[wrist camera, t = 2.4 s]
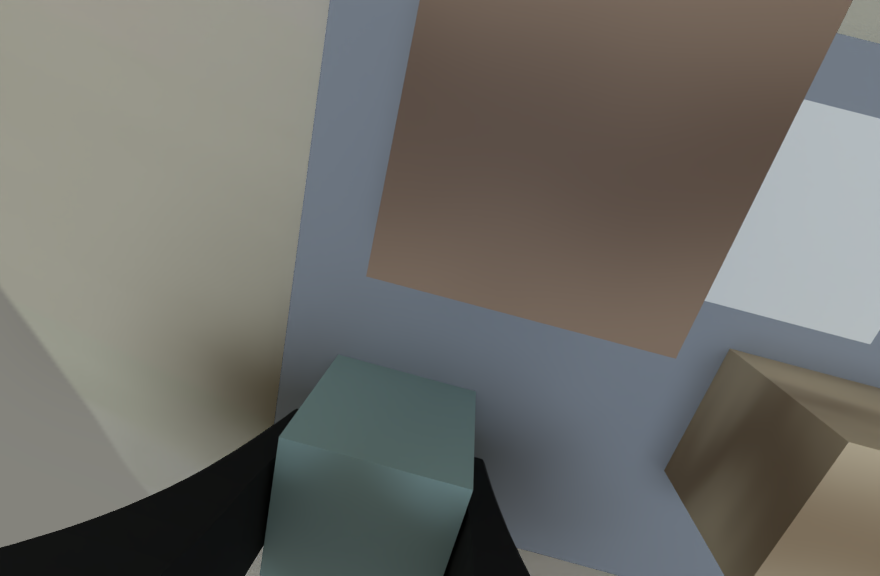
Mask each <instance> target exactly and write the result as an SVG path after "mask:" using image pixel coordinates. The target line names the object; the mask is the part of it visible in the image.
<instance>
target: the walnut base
mask: <svg viewBox="0 0 880 576" xmlns="http://www.w3.org/2000/svg"><path fill="white" fill-rule="evenodd" d="M852 1H853V0H420V1H419V6H418V11H417V17H416V22H415V27H414V32H413V37H412V42H411V47H410V53H409V58H408V63H407V68H406V73H405V78H404V84H403V89H402V94H401V99H400V104H399V109H398V115H397V120H396V125H395V130H394V135H393V140H392V145H391V151H390V156H389V161H388V166H387V171H386V176H385V182H384V187H383V192H382V197H381V202H380V207H379V212H378V218H377V223H376V228H375V233H374V238H373V243H372V249H371V254H370V259H369V264H368V269H367V274H366V277H370V278H374V279H378V280H382V281H385V282H389V283H393V284H397V285H400V286H404V287H408V288H412V289H415V290H419V291H423V292H427V293H430V294H434V295H438V296H442V297H445V298H449V299H453V300H457V301H460V302H464V303H468V304H472V305H475V306H479V307H483V308H487V309H491V310H494V311H498V312H502V313H506V314H509V315H513V316H517V317H521V318H524V319H528V320H532V321H536V322H539V323H543V324H547V325H551V326H554V327H558V328H562V329H566V330H569V331H573V332H577V333H581V334H585V335H588V336H592V337H596V338H600V339H603V340H607V341H611V342H615V343H618V344H622V345H626V346H630V347H633V348H637V349H641V350H645V351H648V352H652V353H656V354H660V355H663V356H667V357H671V358H675V359H676V357H677V355H678V353H679V351H680V349H681V347H682V345H683V343H684V341H685V339H686V337H687V335H688V333H689V331H690V329H691V327H692V325H693V323H694V321H695V319H696V317H697V315H698V313H699V311H700V309H701V307H702V305H703V303H704V301H705V299H706V297H707V295H708V293H709V290H710V288H711V286H712V284H713V282H714V280H715V278H716V276H717V274H718V272H719V270H720V268H721V266H722V264H723V262H724V260H725V258H726V256H727V254H728V252H729V250H730V248H731V246H732V244H733V242H734V240H735V238H736V236H737V234H738V232H739V230H740V228H741V226H742V224H743V222H744V220H745V218H746V216H747V214H748V211H749V209H750V207H751V205H752V203H753V201H754V199H755V197H756V195H757V193H758V191H759V189H760V187H761V185H762V183H763V181H764V179H765V177H766V175H767V173H768V171H769V169H770V167H771V165H772V163H773V161H774V159H775V157H776V155H777V153H778V151H779V149H780V147H781V145H782V143H783V141H784V139H785V137H786V135H787V133H788V130H789V128H790V126H791V124H792V122H793V120H794V118H795V116H796V114H797V112H798V110H799V108H800V106H801V104H802V102H803V100H804V98H805V96H806V94H807V92H808V90H809V88H810V86H811V84H812V82H813V80H814V78H815V76H816V74H817V72H818V70H819V68H820V66H821V64H822V62H823V60H824V58H825V56H826V54H827V51H828V49H829V47H830V45H831V43H832V41H833V39H834V37H835V35H836V33H837V31H838V29H839V27H840V25H841V23H842V21H843V19H844V17H845V15H846V13H847V11H848V9H849V7H850V5H851V3H852Z"/></svg>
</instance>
